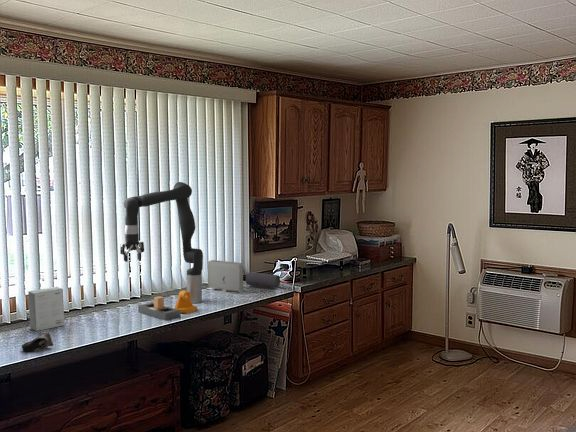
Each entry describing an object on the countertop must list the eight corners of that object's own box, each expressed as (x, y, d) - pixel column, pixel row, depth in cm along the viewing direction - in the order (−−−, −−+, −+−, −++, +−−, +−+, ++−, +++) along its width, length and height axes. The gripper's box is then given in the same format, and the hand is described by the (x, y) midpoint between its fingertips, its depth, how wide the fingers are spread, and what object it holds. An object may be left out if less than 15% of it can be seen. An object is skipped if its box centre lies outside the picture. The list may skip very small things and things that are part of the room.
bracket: (182, 314, 341) (181, 293, 339) (175, 312, 346) (174, 291, 345) (197, 311, 348) (197, 290, 347) (190, 308, 353) (190, 288, 352)
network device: (206, 290, 402) (205, 261, 400) (213, 288, 410) (213, 259, 408) (238, 294, 390) (238, 264, 388) (245, 292, 398) (245, 262, 396)
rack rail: (138, 312, 345) (138, 304, 344) (152, 309, 352) (152, 301, 351) (165, 320, 327) (165, 312, 327) (180, 317, 334) (180, 309, 334)
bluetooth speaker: (280, 287, 412) (280, 273, 411) (274, 290, 403) (274, 276, 402) (251, 284, 421) (251, 270, 420) (245, 287, 412) (245, 273, 411)
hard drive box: (58, 322, 322) (57, 286, 320) (64, 325, 316) (63, 288, 314) (29, 328, 311) (28, 290, 309) (35, 331, 306) (33, 293, 304)
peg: (159, 313, 342) (159, 296, 341) (164, 314, 340) (163, 297, 339) (154, 314, 339) (153, 297, 338) (158, 315, 337) (157, 298, 336)
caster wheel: (20, 356, 275) (36, 347, 284) (38, 354, 270) (54, 345, 279) (16, 343, 274) (32, 334, 283) (34, 341, 269) (50, 332, 278)
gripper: (124, 234, 334) (125, 263, 336) (146, 232, 345) (147, 259, 346) (117, 233, 340) (118, 261, 341) (139, 231, 350) (139, 258, 352)
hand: (132, 260), depth 344 cm, fingers open, 8 cm apart
